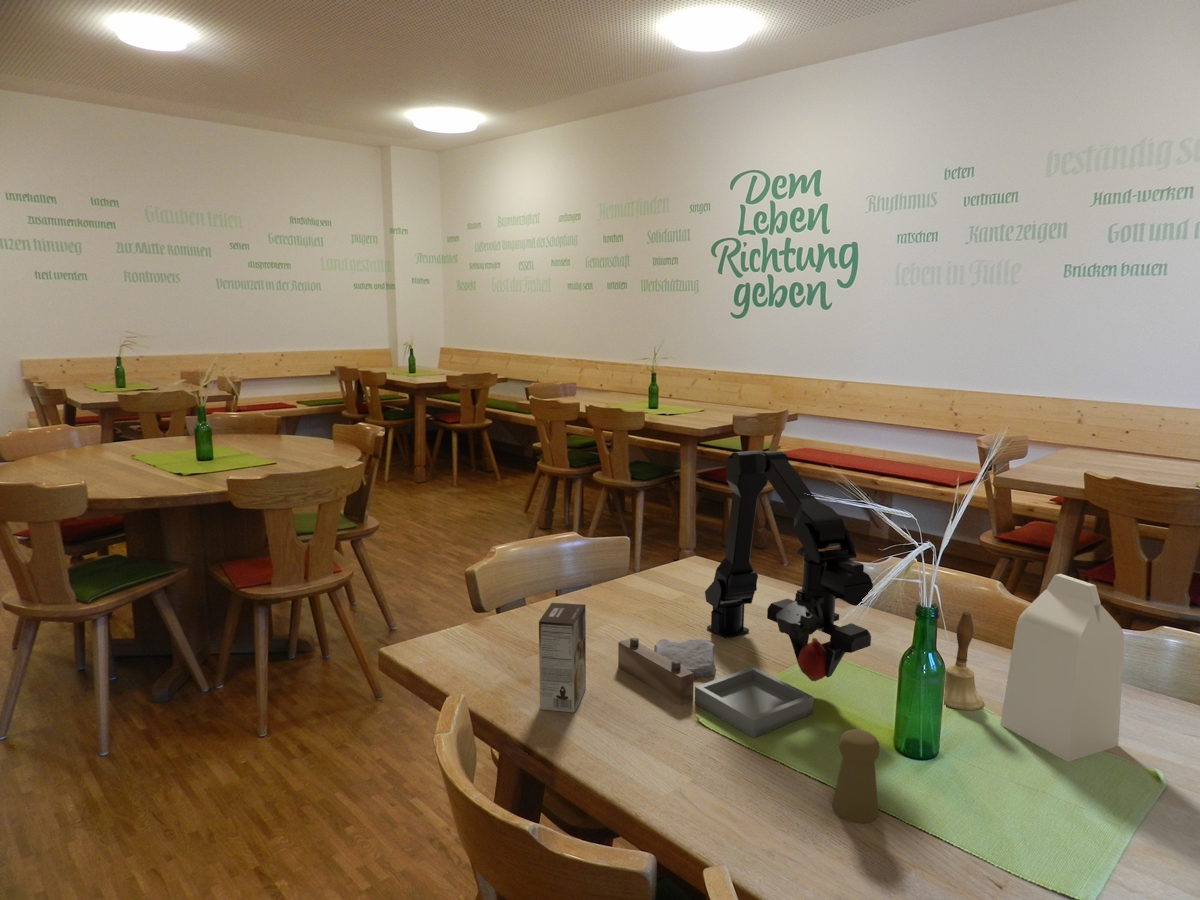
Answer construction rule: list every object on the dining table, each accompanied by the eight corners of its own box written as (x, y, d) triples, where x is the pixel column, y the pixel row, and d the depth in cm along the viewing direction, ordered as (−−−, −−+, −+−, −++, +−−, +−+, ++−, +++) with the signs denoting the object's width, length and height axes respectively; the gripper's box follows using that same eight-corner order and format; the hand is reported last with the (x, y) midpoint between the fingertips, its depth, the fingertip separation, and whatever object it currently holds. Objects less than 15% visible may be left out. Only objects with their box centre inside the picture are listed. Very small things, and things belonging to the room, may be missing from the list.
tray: (752, 681, 146) (753, 666, 146) (812, 713, 135) (813, 696, 135) (694, 702, 139) (695, 686, 138) (753, 737, 127) (754, 720, 127)
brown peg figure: (825, 797, 112) (829, 724, 110) (867, 795, 112) (872, 722, 111) (841, 824, 106) (846, 747, 104) (886, 822, 106) (891, 745, 105)
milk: (1000, 724, 132) (1014, 572, 127) (1049, 711, 136) (1064, 564, 132) (1067, 761, 121) (1086, 597, 116) (1118, 745, 125) (1138, 587, 121)
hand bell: (959, 685, 146) (967, 601, 143) (994, 706, 138) (1003, 618, 135) (921, 691, 143) (928, 606, 140) (955, 713, 135) (963, 624, 133)
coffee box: (551, 685, 145) (551, 601, 142) (586, 688, 144) (586, 603, 141) (538, 710, 136) (537, 620, 133) (575, 713, 135) (575, 623, 132)
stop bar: (630, 662, 154) (631, 632, 153) (693, 699, 140) (693, 666, 139) (618, 666, 153) (618, 635, 151) (679, 704, 138) (680, 670, 137)
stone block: (717, 687, 149) (714, 654, 158) (718, 665, 147) (714, 634, 156) (653, 686, 150) (653, 654, 159) (653, 665, 148) (653, 634, 157)
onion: (831, 676, 144) (834, 634, 143) (829, 690, 139) (832, 647, 137) (798, 671, 146) (800, 629, 144) (795, 685, 140) (797, 642, 139)
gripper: (747, 579, 142) (743, 662, 145) (831, 612, 127) (826, 703, 130) (790, 568, 148) (786, 647, 151) (875, 598, 133) (869, 685, 136)
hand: (814, 669), depth 142 cm, fingers closed on onion, 6 cm apart
